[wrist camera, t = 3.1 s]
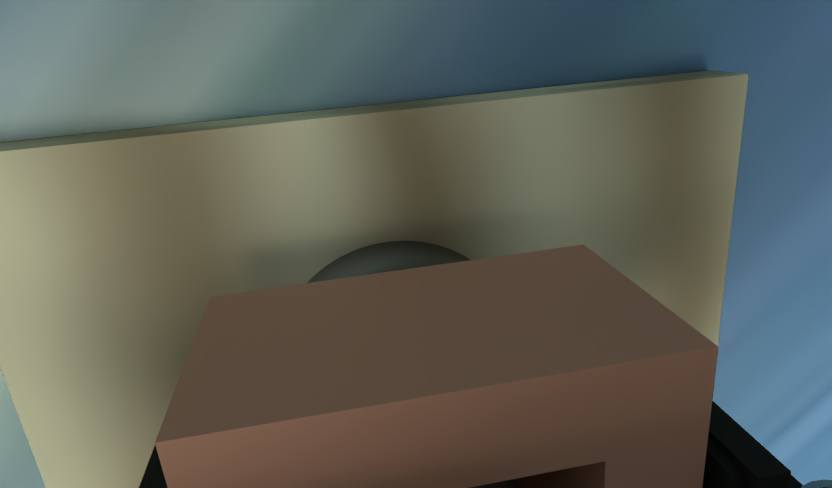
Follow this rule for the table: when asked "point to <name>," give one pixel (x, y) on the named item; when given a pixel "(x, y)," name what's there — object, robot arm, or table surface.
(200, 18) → the table surface
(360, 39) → the table surface
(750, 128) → the table surface
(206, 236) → the board
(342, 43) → the table surface
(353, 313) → the collar
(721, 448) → the robot arm
